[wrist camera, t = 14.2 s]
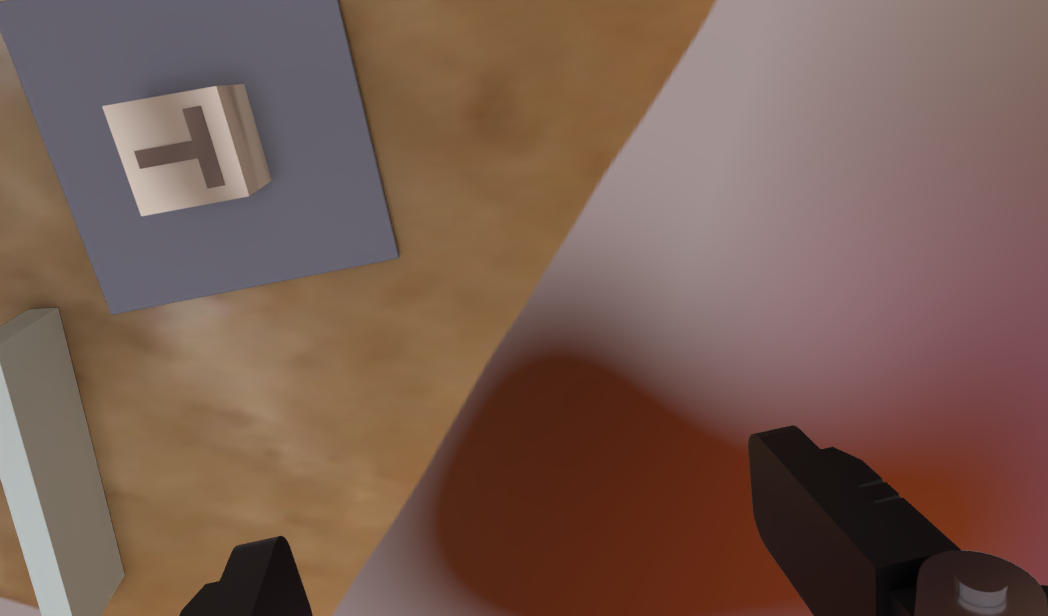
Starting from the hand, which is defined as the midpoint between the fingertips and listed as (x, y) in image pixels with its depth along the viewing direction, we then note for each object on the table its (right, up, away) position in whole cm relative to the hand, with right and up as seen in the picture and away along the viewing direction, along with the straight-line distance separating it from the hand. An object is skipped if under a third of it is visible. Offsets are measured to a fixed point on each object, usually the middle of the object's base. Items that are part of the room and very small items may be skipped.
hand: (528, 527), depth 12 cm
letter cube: (-16, +12, +25) cm, 32 cm away
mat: (-16, +13, +26) cm, 33 cm away
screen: (-26, -5, +30) cm, 40 cm away
